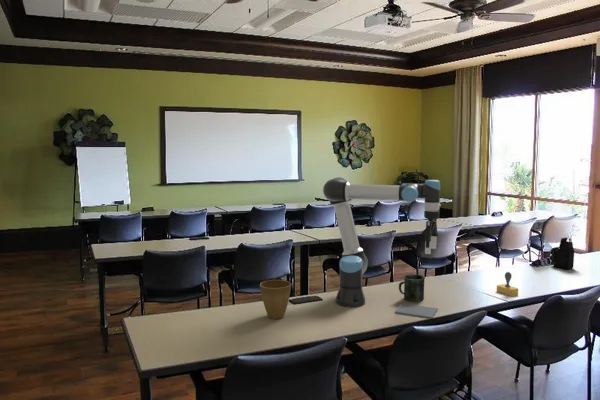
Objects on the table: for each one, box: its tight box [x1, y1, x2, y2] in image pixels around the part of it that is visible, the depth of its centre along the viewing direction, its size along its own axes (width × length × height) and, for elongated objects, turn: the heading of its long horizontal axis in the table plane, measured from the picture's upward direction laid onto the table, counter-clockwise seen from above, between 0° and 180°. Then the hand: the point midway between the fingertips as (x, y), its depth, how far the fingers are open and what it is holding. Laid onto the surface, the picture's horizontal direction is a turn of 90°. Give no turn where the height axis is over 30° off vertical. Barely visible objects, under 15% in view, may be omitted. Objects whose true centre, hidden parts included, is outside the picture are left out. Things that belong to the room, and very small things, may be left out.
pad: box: [394, 302, 439, 320], centre depth 247 cm, size 18×14×1 cm
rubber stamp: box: [496, 271, 519, 297], centre depth 276 cm, size 10×6×12 cm, turn 28°
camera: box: [549, 237, 575, 271], centre depth 332 cm, size 10×14×20 cm
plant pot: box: [259, 279, 292, 320], centre depth 239 cm, size 15×15×16 cm
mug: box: [398, 273, 426, 302], centre depth 265 cm, size 11×15×12 cm
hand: (430, 251), depth 259 cm, fingers open, 13 cm apart
